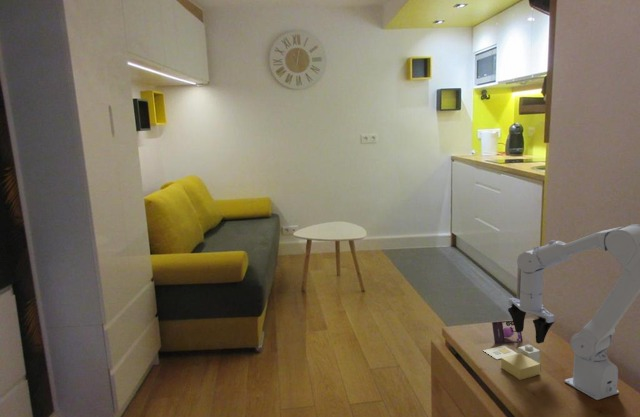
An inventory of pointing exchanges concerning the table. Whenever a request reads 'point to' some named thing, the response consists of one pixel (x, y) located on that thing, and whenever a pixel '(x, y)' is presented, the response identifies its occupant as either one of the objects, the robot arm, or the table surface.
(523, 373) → the base brick
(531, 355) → the top brick
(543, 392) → the table surface
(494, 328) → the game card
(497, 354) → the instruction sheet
